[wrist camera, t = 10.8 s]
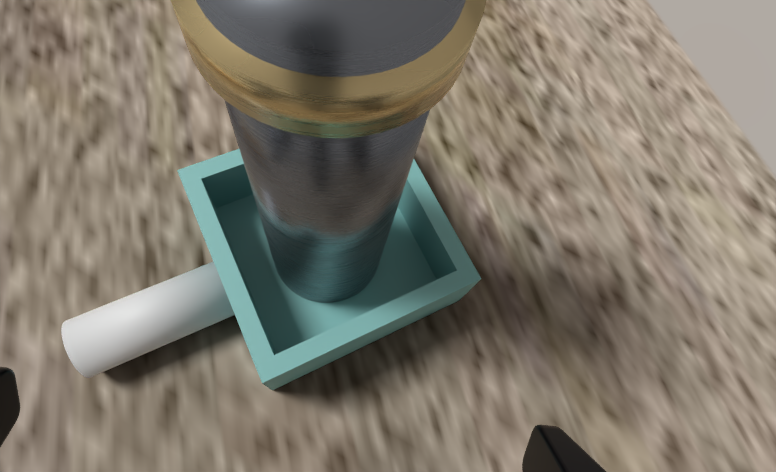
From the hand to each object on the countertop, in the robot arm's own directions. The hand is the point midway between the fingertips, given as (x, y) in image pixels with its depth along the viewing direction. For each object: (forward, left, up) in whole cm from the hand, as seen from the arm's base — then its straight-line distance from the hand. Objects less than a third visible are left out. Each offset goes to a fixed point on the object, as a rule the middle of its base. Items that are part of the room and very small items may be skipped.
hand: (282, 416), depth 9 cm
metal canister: (+3, +5, -8) cm, 10 cm away
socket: (+1, +8, -9) cm, 12 cm away
